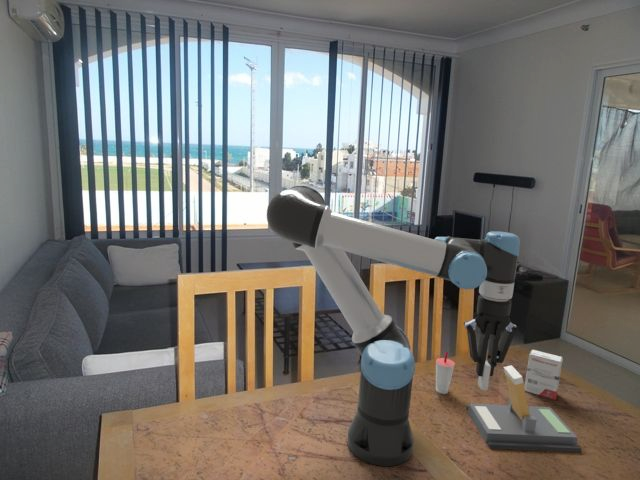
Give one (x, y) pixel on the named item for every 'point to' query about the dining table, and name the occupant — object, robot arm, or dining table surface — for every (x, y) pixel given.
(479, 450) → the dining table surface
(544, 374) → the ink box
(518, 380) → the breaker lever
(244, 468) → the dining table surface
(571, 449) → the dark grey edge strip
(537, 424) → the panel
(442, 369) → the cup
